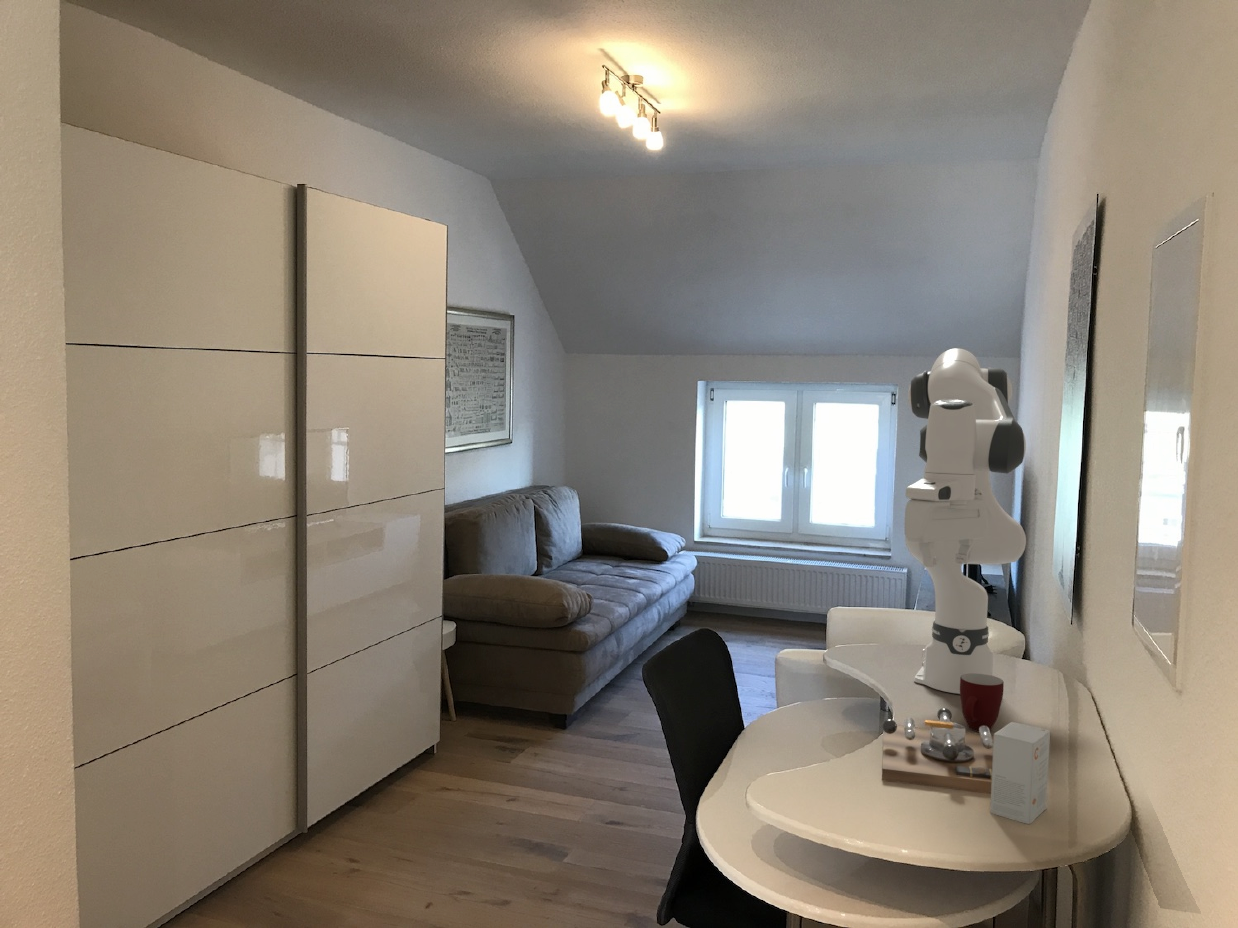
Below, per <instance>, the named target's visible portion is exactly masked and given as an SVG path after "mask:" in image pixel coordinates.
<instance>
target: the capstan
mask: <svg viewBox="0 0 1238 928" xmlns="http://www.w3.org/2000/svg"><path fill="white" fill-rule="evenodd" d="M952 715H953V714H952V712H951V710H950V709H948V708H945V707H942V708H940V709H938V711H937V716H936V717H937V718H938V720H930V719H928V720H927V719H925V720H924V726H929V728H930V739H929V740H928V741H925V742H923V743H921V752H922V753H923V754H924V755H926V756H927V757H930V758H932V759H935V760H939V761H944V762H953V763H960V762H967V761H970V760H972V759H973V758H974V751H973V749H972V748H970V747H969V746H967V745H965V732H966V726H964V725H962V724H960V723H957V722H952V721H951V719H952V717H953V716H952ZM881 725H882V727H881V728H882V731H883V730H884V731H885V732H886V733H888V734H892V733H894V732H895V731H896V730H897V725H898V724H897V722H896V721H895V720H893V719H891V718H887V719H885V720H883V722H882V724H881ZM903 726H904V730H905V737H906V739H908V740H913V739H914V738H915V727H916V726H915V720H914V718H912V717H906V718H905V719H904V722H903ZM978 734H980V737H981V741H982V744H983V746H984V748H986V749H991V748H992V747H993V740H992V737H991V735H992V734H991V729H990V730H989V728H988V727H987V726H981V727H980V728H979V732H978Z"/></svg>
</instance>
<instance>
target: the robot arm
mask: <svg viewBox="0 0 1238 928" xmlns="http://www.w3.org/2000/svg"><path fill="white" fill-rule="evenodd" d="M1012 396H1013V386H1012V382H1011V380H1010V378H1009V376H1008V373H1007V372H1006V371H1005V370H1004V369H1002V368H997V367H988V368H984V367H983V368H981V365H980V363H979V360H978V359H977V357H976V356H975V355H974V354H973V353H972V352H970V351H969V350H966V349H964V348H959V347H957V348H951V349H948V350H946V351H943V352H942V353H940V354H939V355H938V357H937V358H936V359H935V361H934V363H933V364H932V367H931V369H930V371H928V370H924V371H923V372H921V373H919V374H916V375H915V376H914V377H913V378H912V379H911V380H910V385H909V387H908V391H907V402H908V405H909V407H910V410H911V412H912V413H913V414H914V415H915V417H916V418H919V419H925V420H926V419H927V423H926V425H924V426H923V427H921V429H920V430H919V436H920V439H919V440H920V442H919V452H918V456H919V458H921V459H922V461H924V462H925V467H924V472H923V476H924V477H922V478H920V479H919V480H917V481H916V482H913V483H912V484H910V485H909V486H907V487H906V488H905V498H906V499H908V501H907V502H906V504H905V510H904V523H903V524H904V526H903V527H904V536H905V537H904V541H905V542H904V543H905V545H906V548H907V550H908V552H909V553H910V555H911V556H912V557H913V558H914V559H915V560H917V561H918V562H919V563H920V564H921V565H922V566H923V567H924V568H925V569H926V571H927V572H928V574H929V576H930V578H931V581H932V584H933V588H934V597H935V598H934V599H935V601H934V603H935V607H934V608H935V613H934V614H935V615H934V621H932V627H931V630H932V631H931V636H932V640H931V641H930V643H927V645H926V646H925V648H923V649H922V651H921V653H922V654H921V658H922V659H923V661H922V663H921V668H920V669H918V671H917V673H916V674H915V676H914V679H913V681H914V683H917V684H921V685H925V686H927V687H930V688H931V689H935V690H938V691H942V692H946V693H951V694H958V695H960V677H961V676H962V675H964V674H971V673H975V674H986V675H991V676H995V652H994V651H992V649H991V648H990V647H989V646H988V642H989V636H990V635H989V634H990V632H989V626H988V624H987V623H988V605H989V602H988V601H989V596H988V592H987V589H985V588H984V586H982V585H981V584H980V583H978V582H977V581H975V580H974V579H972V578H970V577H968V576H966V575H964V574H963V569H962V565H967V564H969V565H987V566H988V565H989V566H993V565H994V566H996V565H998V566H999V565H1002V564H1010V563H1011V564H1012V563H1015V562H1017V561H1018V560H1019V559H1020V558H1021V557H1022V556H1023V554H1024V551H1025V549H1026V546H1027V536H1026V533H1025V531H1024V529H1023V526H1022V525H1021V524H1020V523H1019V521H1017V519H1015V518H1013V517H1012V516H1010V515H1009V514H1008V513H1007V511H1005V510H1004V508H1002V506H1001V505H1000V503H999V502H998V500H997V498H996V497H995V495H994V492H993V489H992V485H991V478H990V477H991V476H990V472H991V473H996V474H997V473H1000V474H1006V475H1007V474H1009V473H1010V472H1013V471H1014V470H1015V469H1018V467H1020V465H1022V464H1023V462H1024V458H1025V455H1026V450H1027V449H1026V448H1027V447H1026V446H1027V444H1026V443H1027V442H1026V436H1025V434H1024V431H1023V428H1022V427H1021V425H1020V424H1019V423H1018V422H1017V421H1016V419H1015V416H1014V415H1013V412H1012V411H1011V408H1010V405H1009V404H1010V402H1011V401H1012V398H1013V397H1012Z"/></svg>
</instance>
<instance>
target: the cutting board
mask: <svg viewBox="0 0 1238 928" xmlns="http://www.w3.org/2000/svg"><path fill="white" fill-rule="evenodd" d="M991 737H992V740H994V734H991ZM929 739H930V727H929V728H928V727H921V726H919V727H918V726H915V738H914V739H913V740H908V739H906V737H905V730H904V724H903V725H902V724H897V730H896V731H895V732H894V733H892V734H888V733H886V732H885V731H884V730H883V729H882V756H881V757H882V761H881V762H882V765H881V780H882V781H885V782H887V781H888V782H893V783H894V782H895V783H903V784H911V785H919V786H920V785H921V786H927V787H928V786H929V787H937V788H945V789H953V790H959V791H960V790H961V791H968V792H977V793H984V794H985V793H986V794H991V784H992V762H993V747H992V748H991V749H986V748H984V746H983V744H982V741H981V737H980V733H979V732H978V733H976V732H969V731H968V732H967V731H965V745H967V746H969V747H970V748H972V749H973V751H974V758H973V759H972V760H970V761H967V762H960V763H953V762H944V761H939V760H935V759H932V758H930V757H927V756H926V755H924V754H923V753H922V752H921V743H923V742H925V741H928V740H929Z"/></svg>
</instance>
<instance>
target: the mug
mask: <svg viewBox="0 0 1238 928" xmlns="http://www.w3.org/2000/svg"><path fill="white" fill-rule="evenodd" d="M1004 684H1005V683H1004V680H1003V679H1002V678H1000V677H998V676H995V675H994V676H991V675H986V674H975V673H971V674H964V675H962V676H961V677H960V694H959V695H960V703H961V710H962V715H963V718H964V721H965V722H966V724H967V727H968V728H969V729H970V730H972V731H974V732H978V733H979V728H980V727H981V726H987V727H988V728H989V730H990V731H991V730H992V728H993V727H994V725H995V723H997V722H996V721H997V720H998V718H999V713H1000V710H1001V706H1002V701H1003V696H1004V686H1005V685H1004Z"/></svg>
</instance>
